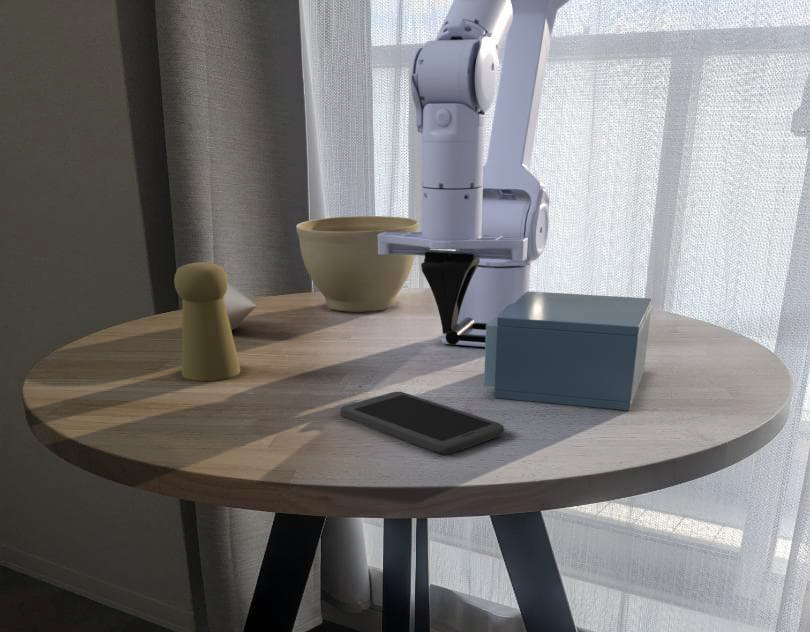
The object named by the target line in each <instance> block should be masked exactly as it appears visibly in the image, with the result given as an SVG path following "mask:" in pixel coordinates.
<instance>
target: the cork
mask: <svg viewBox="0 0 810 632" xmlns="http://www.w3.org/2000/svg"><path fill="white" fill-rule="evenodd" d="M173 281H174V283H173V284H174V288H175V290H176V293H177V295H178V296H179V297H180V298H181V302H182V303H181V304H182V305H181V309H182V310H181V312H182V314H181V315H182V317H181V318H182V320H181V334H182V335H181V339H182V340H181V377H183V378H184V379H187V380H189V381H190V380H191V381H195V382H210V381H211V382H213V381H215V382H216V381H222V380H227V379H230V378H234V377H236V376H238V375H239V374H241V365H240V362H239V358H238V354H237V349H236V344H235V340H234V336H233V332H232V331H233V330H231V327H230V323H229V318H228V314H227V310H226V305H225V301H224V295H225V293H226V291H227V286H228V282H229V281H228V275H227V273H226V271H225V269H224V268H223V267H222V266H221V265H219V264H218V263H217V264H216V263H212V262H200V261H199V262H198V261H197V262H192V263H187V264H183V265H181V266H180V267H178V268H177V269H176V272H175V274H174V279H173Z"/></svg>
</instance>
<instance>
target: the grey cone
mask: <svg viewBox="0 0 810 632" xmlns="http://www.w3.org/2000/svg"><path fill="white" fill-rule="evenodd" d="M224 301H225V305H226V310H227V314H228V318H229V323H230V327H231V331H233V330H235V329H236V328H238V327H239V325H240V324H241V323H243V321H244V320H245V319H246V318H247V317H248V316H249V315H250V314H251V313H252V312H253V310H254V309H256V308H257V304H255V302H253V301H252V300H251V299H250V298H249V297H248V296H246V295H245V293H243V292H242V291H241V290H240V289H238V288H237V287H236V286H235V285H234V284H232V283H231V282H229V281H228V286H227V291H226V293H225V295H224Z"/></svg>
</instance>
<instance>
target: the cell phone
mask: <svg viewBox="0 0 810 632" xmlns="http://www.w3.org/2000/svg"><path fill="white" fill-rule="evenodd" d="M339 411H340V416H342V417H343V418H345V419H347V420H351V421H353V422H356V423H358V424H361V425H364V426H366V427H369V428H371V429H374V430H377V431H379V432H383V433H385V434H387V435H390V436H393V437H396V438H398V439H401V440H403V441H406V442H409V443H411V444H414V445H416V446H419V447H422V448H425V449H427V450H430V451H433V452H435V453H438V454H452V453H455V452H459V451H461V450H463V449H466V448H469V447H472V446H476V445H478V444H481V443H485V442H486V441H489V440H493V439H495V438H497V437H500V436H502V435H503V434H504V432H505V427H504V425H503V424H501V423H500V422H497V421H493V420H491V419H487V418H485V417H481V416H478V415H475V414H472V413H469V412H465V411H463V410H459V409H457V408H454V407H451V406H447V405H445V404H440V403H437V402H435V401H432V400H428V399H426V398H422V397H419V396H416V395H413V394H410V393H407V392H404V391H392V392H388V393H385V394H384V393H383V394H381V395H378V396H374V397H371V398H367V399H364V400H360V401H357V402H353V403H349V404H346V405H342V406H341V407H340V408H339Z"/></svg>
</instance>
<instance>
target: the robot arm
mask: <svg viewBox="0 0 810 632" xmlns="http://www.w3.org/2000/svg"><path fill="white" fill-rule="evenodd" d="M570 1H571V0H453V1H452V3H451V5H450V6H449V9H448V11H447V14H446V16H445V18H444V20H443V22H442V24H441V27H440V29H439V31H438V32H437V35H436V37H435V39H434V40H428V41H426V42H425V43H424V44H423V46H422V47H419V48H418V49H417V50H416V51H415V54H414V57H413V60H412V66H411V74H410V90H411V96H412V101H413V104H414V107H415V126H416V127H417V132H418V133H420V134H421V231H418V232H383V233H380V234H378V254H379V255H389V254H402V255H415V256H423V257H424V259H423V262H421V264H420V267H421V271H422V274H423V276H424V278H425V280H426V281H427V284H428V285H429V288H430V290H431V292H432V295H433V298H434V300H435V303H436V306H437V307H436V308H437V310H438V314H439V319H440V324H441V329H442V334H443V338H442V339H441V343H442V344H444V345H450V344H449V343H448V342H447V341H446V334H447V332H449V331H450V330H451V329H452V328H454V327H455V326H456V325H457V324H459V323H460V322H461V321H463V320H464V319H465V318H472V319H473V320H474V322H477V323H489V322H490V321H491V320H493V319H494V318H495V317H496V316H497V315H498V314H499V313H500V312H502V311H503V310H504V309H505V308H506V307H507V306H508V305H510V304H511V303H512V302H513V301H517V300H518V299H519V298H520V297H521V296H522V295H524V294H525V293H526V292H527V291H530V282H531V268H532V267H531V266H532V263H533V262H535V261H537V260H538V259H539V258H540V256H542V254H543V253H544V252H545V250H546V246H547V242H548V236H549V227H550V219H549V218H550V217H549V214H550V213H549V212H550V205H551V204H550V203H551V199H550V195H549V191H548V189H547V187H546V185H545V184H544V182H542V180H540V179H539V178H538V177H537V176H536V175H535V174H534V173H533V172H532V171H530V170H531V169H530V168H531V162H532V156H533V151H534V144H535V138H536V131H537V125H538V119H539V113H540V106H541V103H542V102H541V101H542V94H543V88H544V82H545V77H546V71H547V64H548V58H549V53H550V46H551V40H552V35H553V30H554V27H555V22H556V18H557V15H558V11H559V9H561V8H562V7H563V6H565V5H566V4H567V3H569V2H570ZM504 42H505V43H504ZM503 45H504V47H503ZM502 47H503V48H504V49H503V54H502V60H501V61H502V62H501V67H500V61H499V54H500V52H501V50H502ZM499 68H500V73H499ZM498 74H499V78H498ZM497 78H498V79H499V81H498V86H497ZM496 87H497V93H496ZM495 95H496V98H495ZM494 98H495V104H494V105H495V106H494V112H493V116H492V117H493V118H492V124H491V131H490V136H489V142H488V143H489V144H488V149H487V156H486V162H485V164H484V157H485V155H484V153H485V129H486V128H485V125H486V124H485V123H486V112H488V111H489V110H490V108H491V106H492V104H493V103H494ZM469 334H473V335H486V330H477V329H473V330H472V331H471V332H470V333H469ZM455 346H468V347H478V348H479V347H482V348H485V343H482V342H469V341H459V342H458V343H457V344H455Z"/></svg>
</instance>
